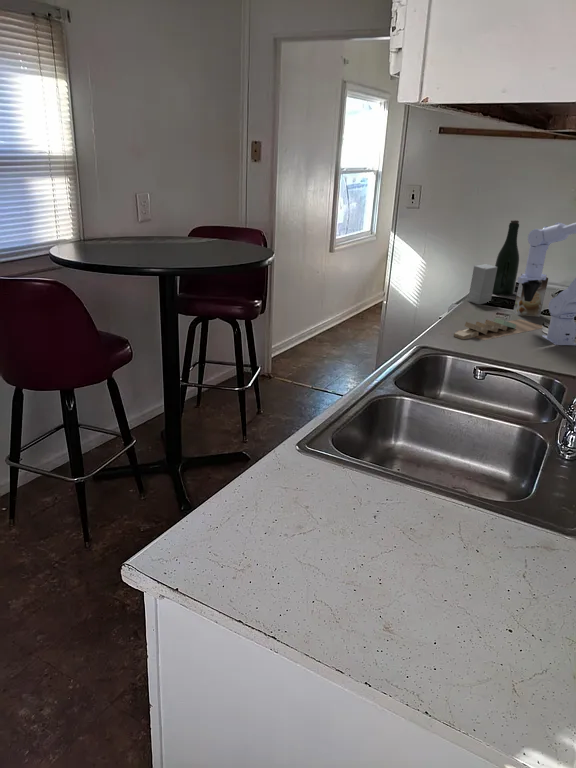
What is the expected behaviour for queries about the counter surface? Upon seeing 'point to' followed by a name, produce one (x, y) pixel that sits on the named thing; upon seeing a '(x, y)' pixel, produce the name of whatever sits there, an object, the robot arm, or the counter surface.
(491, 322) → the birch domino
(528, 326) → the thin wooden board
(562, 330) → the robot arm
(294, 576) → the counter surface
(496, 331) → the birch domino
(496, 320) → the green domino
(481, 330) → the birch domino
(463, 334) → the birch domino
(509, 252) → the beer bottle
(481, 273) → the skincare box
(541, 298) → the coffee box
